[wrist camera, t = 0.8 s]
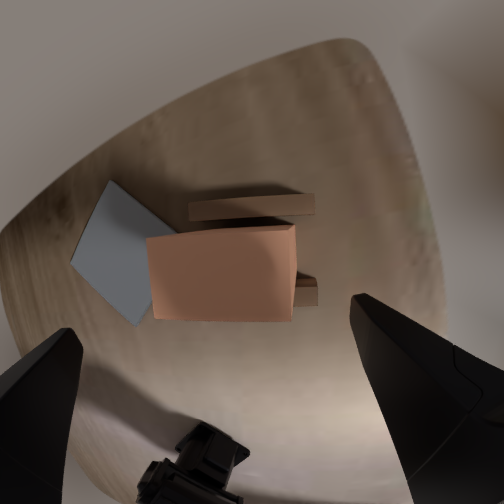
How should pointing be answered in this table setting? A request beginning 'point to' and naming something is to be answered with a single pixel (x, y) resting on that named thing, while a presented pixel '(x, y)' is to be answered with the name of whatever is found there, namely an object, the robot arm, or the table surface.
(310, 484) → the table surface
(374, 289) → the table surface
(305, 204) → the slot holder
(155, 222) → the slate mat
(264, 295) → the thick orange-brown block
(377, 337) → the robot arm
